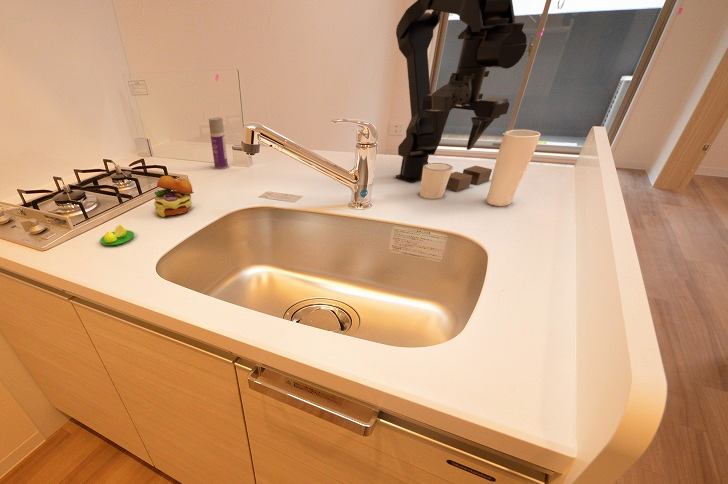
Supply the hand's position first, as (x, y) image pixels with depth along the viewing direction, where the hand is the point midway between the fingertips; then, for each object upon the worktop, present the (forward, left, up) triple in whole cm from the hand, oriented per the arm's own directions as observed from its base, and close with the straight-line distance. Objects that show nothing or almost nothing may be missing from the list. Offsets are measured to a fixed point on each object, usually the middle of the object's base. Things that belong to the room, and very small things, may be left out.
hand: (452, 146), depth 88 cm
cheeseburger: (-36, -61, -11) cm, 72 cm away
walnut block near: (0, +6, -11) cm, 13 cm away
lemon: (-27, -79, -11) cm, 84 cm away
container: (-65, -33, -11) cm, 74 cm away
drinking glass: (+13, +4, -11) cm, 18 cm away
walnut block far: (0, +14, -11) cm, 18 cm away
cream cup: (0, -3, -11) cm, 12 cm away
